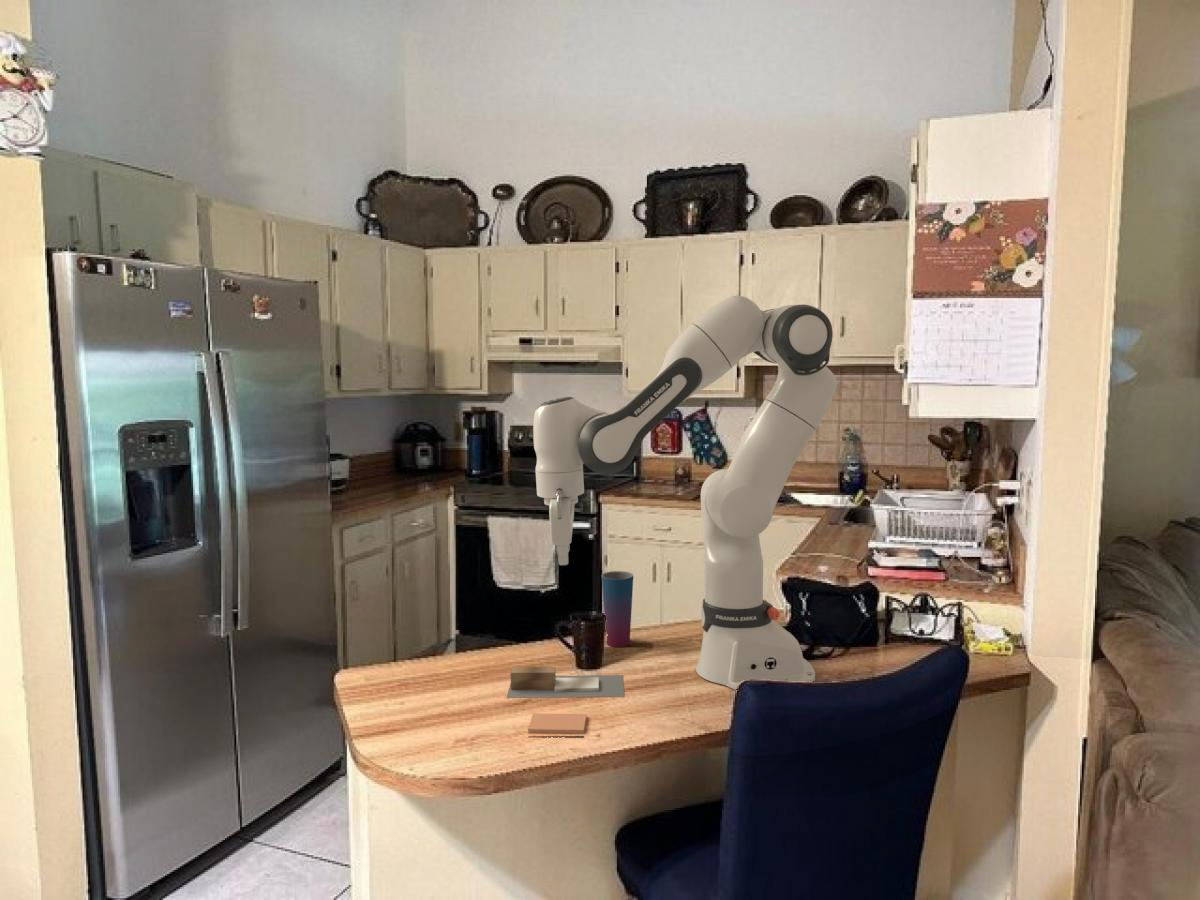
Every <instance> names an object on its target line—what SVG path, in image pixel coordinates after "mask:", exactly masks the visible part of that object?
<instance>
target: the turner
mask: <svg viewBox="0 0 1200 900" xmlns="http://www.w3.org/2000/svg"><path fill="white" fill-rule="evenodd" d="M556 676H557V675H556V666H552V665H551V666H547V665H546V666H512V667H511V671H510V684H511V690H550V689H554V691H555V692H570V691H599V677H588V678H556Z"/></svg>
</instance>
